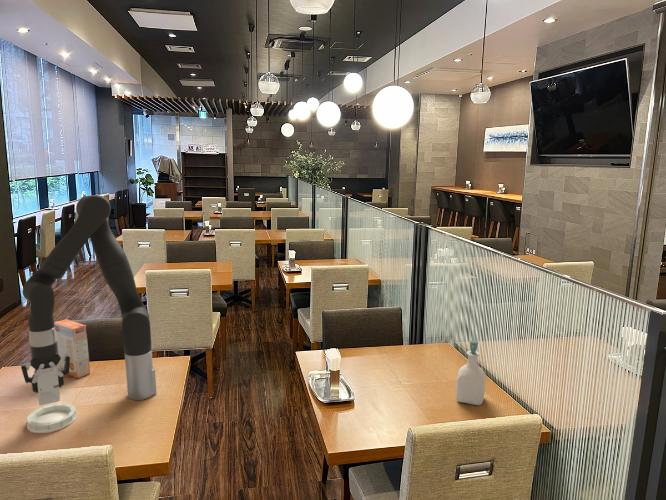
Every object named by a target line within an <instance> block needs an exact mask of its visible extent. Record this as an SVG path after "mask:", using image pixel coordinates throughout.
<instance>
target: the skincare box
mask: <svg viewBox="0 0 666 500" xmlns="http://www.w3.org/2000/svg"><path fill="white" fill-rule="evenodd" d="M39 371H40V370H39ZM36 372H37V370H36ZM38 374H39V373H38ZM37 385H38V393H37V395H38V405H39V406H46V405H51V404H55V403H58V402H60V401H61V396H60V388H59V382H58V369H57V367H54V368H52V367H49V368H45V369H42V370H41V373H40V376H39V377H38V376H37Z"/></svg>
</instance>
